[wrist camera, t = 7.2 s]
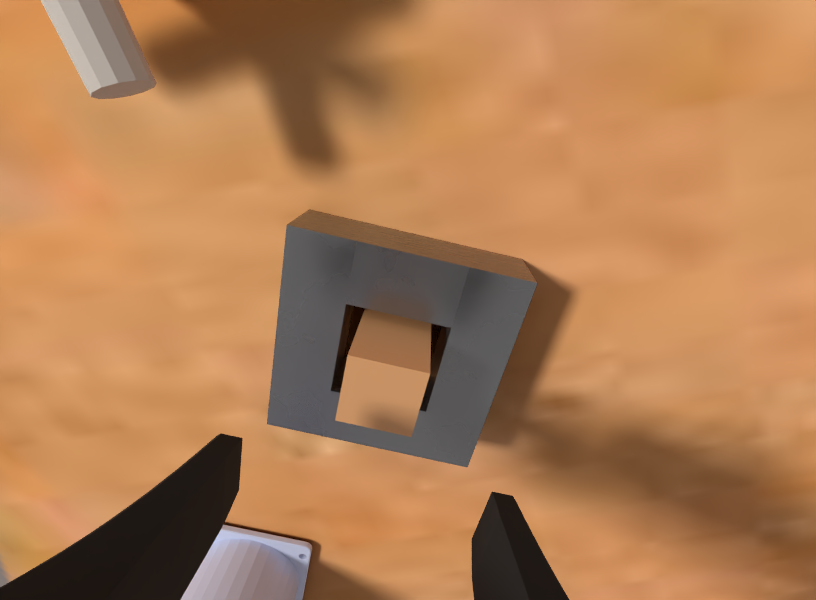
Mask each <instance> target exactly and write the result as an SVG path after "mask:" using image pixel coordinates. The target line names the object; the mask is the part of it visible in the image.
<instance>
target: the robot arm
mask: <svg viewBox="0 0 816 600" xmlns="http://www.w3.org/2000/svg"><path fill="white" fill-rule="evenodd" d="M241 452H242V438H239V437H234V436H230V435H225V434H219V435H218V436H216V437H215V438H214V439H213V440H211V441H210V442H209V443H208V444H207V445H206V446H205V447H203V448H202V449H201V450H200V451H199V452H198V453H196V454H195V455H194V456H193V457H192V458H190V459H189V460H188V461H187V462H186V463H184V464H183V465H182V466H181V467H179V468H178V469H177V470H176V471H175V472H173V473H172V474H171V475H169V476H168V477H167V478H166V479H164V480H163V481H162V482H160V483H159V484H158V485H157V486H155V487H154V488H153V489H152V490H150V491H149V492H148V493H146V494H145V495H144V496H142V497H141V498H140V499H138V500H137V501H135V502H134V503H133V504H131V505H130V506H128V507H127V508H126V509H124V510H123V511H122V512H120V513H119V514H117V515H116V516H115V517H113V518H112V519H110V520H109V521H108V522H106V523H105V524H103V525H102V526H100V527H99V528H97V529H96V530H94V531H93V532H91V533H90V534H88V535H87V536H85V537H84V538H82V539H81V540H79V541H77V542H76V543H74V544H73V545H71V546H70V547H68V548H66V549H65V550H63V551H62V552H60V553H58V554H57V555H55V556H53V557H52V558H50V559H48V560H47V561H45V562H43V563H42V564H40V565H38V566H37V567H35V568H33V569H32V570H30V571H28V572H26V573H25V574H23V575H21V576H20V577H18V578H16V579H14V580H13V581H11V582H9V583H7V584H6V585H4V586H2V587H0V600H303V595H304V590H305V584H306V579H307V574H308V568H309V563H310V558H311V553H312V545H311V544H310V543H308V542H305V541H300V540H295V539H291V538H286V537H281V536H276V535H271V534H266V533H262V532H257V531H252V530H247V529H242V528H238V527H233V526H228V525H223V524H224V522H225V520H226V518H227V516H228V513H229V511H230V509H231V507H232V504H233V502H234V500H235V498H236V495H237V493H238V491H239V480H240V466H241ZM472 582H473V592H474V600H569V598H568V597H567V595H566V593H565V592H564V590H563V588H562V587H561V585H560V583H559V581H558V580H557V578H556V576H555V574H554V572H553V571H552V569H551V567H550V565H549V564H548V562H547V560H546V558H545V556H544V555H543V553H542V551H541V549H540V547H539V545H538V543H537V541H536V540H535V538H534V536H533V534H532V532H531V530H530V528H529V526H528V524H527V522H526V520H525V518H524V516H523V514H522V512H521V510H520V508H519V506H518V504H517V503H516V501H515V499H514V497H513V496H510V495H505V494H501V493H496V492H492V493H491V495H490V498H489V500H488V502H487V505H486V507H485V509H484V512H483V514H482V516H481V519H480V521H479V523H478V526H477V528H476V530H475V533H474V535H473V537H472Z"/></svg>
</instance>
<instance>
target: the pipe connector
mask: <svg viewBox="0 0 816 600" xmlns="http://www.w3.org/2000/svg"><path fill="white" fill-rule="evenodd" d="M41 2H42V4H43V6H44V8H45V9H46V11H47V13H48V15H49V17H50V19H51V21H52V23H53V25H54V27H55V29H56V31H57V33H58V35H59V36H60V38H61V40H62V42H63V44H64V46H65V48H66V50H67V52H68V54H69V56H70V58H71V60H72V62H73V63H74V65H75V67H76V69H77V71H78V73H79V75H80V77H81V79H82V81H83V83H84V85H85V87H86V89H87V90H88V92H89V94H90V96H91V97H94V98H97V99H113V98H120V97H126V96H131V95H135V94H138V93H142V92H145V91H147V90H149V89H151V88H153V87H154V86H155V85H156V81H155V79H154V77H153V75H152V72H151V70H150V68H149V66H148V64H147V61H146V59H145V57H144V55H143V53H142V50H141V48H140V46H139V44H138V42H137V40H136V37H135V35H134V33H133V31H132V29H131V26H130V24H129V22H128V20H127V18H126V16H125V13H124V11H123V9H122V7H121V5H120V2H119V0H41Z"/></svg>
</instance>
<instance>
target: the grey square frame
mask: <svg viewBox="0 0 816 600" xmlns="http://www.w3.org/2000/svg"><path fill="white" fill-rule="evenodd" d="M536 286H537V281H536V280H535V278H534V277H533V275H532V274H531V272H530V270H529V269H528V267H527V266H526V264H525V263H524V261H523V259H518V258H514V257H510V256H506V255H501V254H497V253H493V252H488V251H484V250H480V249H476V248H471V247H467V246H463V245H459V244H454V243H450V242H446V241H441V240H437V239H433V238H429V237H424V236H420V235H416V234H411V233H407V232H403V231H399V230H394V229H390V228H386V227H382V226H377V225H373V224H369V223H364V222H360V221H356V220H352V219H347V218H343V217H339V216H334V215H330V214H326V213H322V212H317V211H313V210H308V211H306V212H305V213H303V214H302V215H300V216H299V217H297V218H296V219H295V220H293V221H292V222H290V223H289V224H287V229H286V239H285V249H284V259H283V269H282V279H281V289H280V299H279V309H278V319H277V329H276V339H275V349H274V359H273V369H272V379H271V389H270V399H269V409H268V419H267V424H269V425H274V426H278V427H283V428H288V429H292V430H297V431H302V432H306V433H311V434H316V435H320V436H325V437H329V438H334V439H339V440H343V441H348V442H353V443H357V444H362V445H366V446H371V447H376V448H380V449H385V450H390V451H394V452H399V453H403V454H408V455H413V456H417V457H422V458H427V459H431V460H436V461H441V462H445V463H450V464H454V465H459V466H464V467H468V465H469V462H470V459H471V457H472V454H473V451H474V449H475V446H476V444H477V441H478V438H479V436H480V433H481V430H482V428H483V425H484V422H485V420H486V417H487V415H488V412H489V409H490V407H491V404H492V401H493V399H494V396H495V394H496V391H497V388H498V386H499V383H500V380H501V378H502V375H503V373H504V370H505V367H506V365H507V362H508V359H509V357H510V354H511V352H512V349H513V346H514V344H515V341H516V338H517V336H518V333H519V330H520V328H521V325H522V323H523V320H524V317H525V315H526V312H527V309H528V307H529V304H530V302H531V299H532V296H533V294H534V291H535V288H536ZM353 306H357V307H361V308H366V309H370V310H375V311H379V312H383V313H388V314H392V315H397V316H401V317H405V318H410V319H414V320H419V321H423V322H427V323H432V324H436V325H441V329H440V333H439V336H438V340H437V343H436V347H435V350H434V353H433V357H432V360H431V364H430V376H429V380H428V383H427V386H426V390H425V393H424V397H423V400H422V403H421V407H420V410H419V413H418V417H417V420H416V424H415V427H414V430H413V434H412V437H408V436H404V435H399V434H395V433H390V432H386V431H381V430H377V429H372V428H367V427H363V426H358V425H354V424H349V423H345V422H340V421H336V420H335V419H336V413H337V408H338V403H339V398H340V392H341V387H342V382H343V377H344V371H345V366H346V361H347V357H344V354H345V349H346V343H347V338H348V332H349V327H350V322H351V316H352V311H353Z"/></svg>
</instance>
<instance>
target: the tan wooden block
mask: <svg viewBox="0 0 816 600" xmlns="http://www.w3.org/2000/svg"><path fill="white" fill-rule="evenodd" d="M430 361H431V323H427V322H423V321H419V320H414V319H410V318H405V317H401V316H397V315H392V314H388V313H383V312H379V311H375V310H370V309H366V308H365V310H364V313H363V315H362V318H361V321H360V323H359V326H358V329H357V331H356V334H355V337H354V339H353V342H352V345H351V347H350V350H349V353H348V355H347V361H346V366H345V371H344V377H343V382H342V387H341V392H340V398H339V403H338V408H337V413H336V419H335V420H336V421H340V422H345V423H349V424H354V425H358V426H363V427H367V428H372V429H377V430H381V431H386V432H390V433H395V434H399V435H404V436H408V437H412V434H413V430H414V427H415V424H416V420H417V417H418V413H419V410H420V407H421V403H422V400H423V397H424V393H425V390H426V386H427V383H428V380H429V376H430Z"/></svg>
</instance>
